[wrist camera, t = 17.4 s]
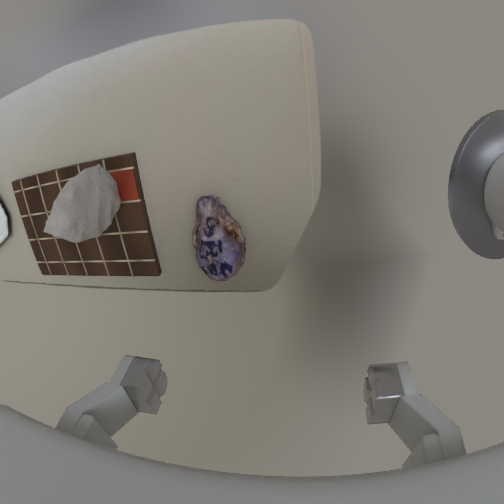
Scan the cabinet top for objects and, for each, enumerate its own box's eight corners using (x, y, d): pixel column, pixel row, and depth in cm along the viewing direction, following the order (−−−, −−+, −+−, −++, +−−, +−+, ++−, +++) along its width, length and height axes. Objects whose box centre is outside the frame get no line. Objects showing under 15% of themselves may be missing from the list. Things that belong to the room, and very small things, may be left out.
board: (135, 152, 41) (130, 154, 40) (161, 272, 51) (158, 276, 49) (15, 180, 45) (10, 182, 44) (45, 271, 54) (41, 275, 53)
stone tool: (132, 213, 44) (78, 264, 31) (115, 217, 45) (60, 268, 32) (111, 156, 40) (45, 189, 27) (95, 162, 41) (28, 198, 28)
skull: (186, 192, 43) (179, 210, 38) (241, 188, 43) (242, 205, 38) (198, 264, 49) (194, 288, 44) (247, 261, 49) (248, 285, 44)
